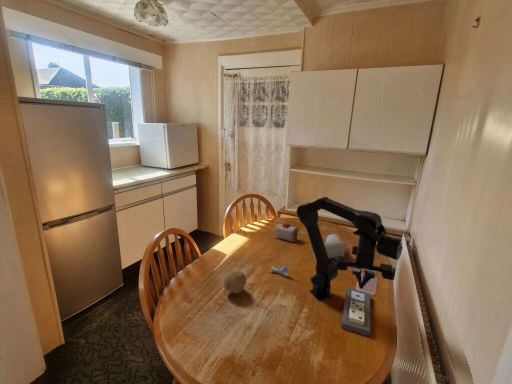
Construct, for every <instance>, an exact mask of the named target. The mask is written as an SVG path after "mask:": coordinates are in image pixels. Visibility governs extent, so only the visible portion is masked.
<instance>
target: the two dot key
mask: <svg viewBox="0 0 512 384" xmlns="http://www.w3.org/2000/svg"><path fill="white" fill-rule="evenodd" d="M349 308H350V307H349ZM364 313H365V312H362V311H358V310H354V309H351V308H350V310H349V316H348V319H347V321H349V322H352V323H355V324H359V325H362V326H364Z"/></svg>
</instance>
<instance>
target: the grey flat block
mask: <svg viewBox="0 0 512 384" xmlns="http://www.w3.org/2000/svg"><path fill="white" fill-rule="evenodd" d="M352 291H355V292H359V293H363V294H365V301H364V303H363V302H360V301H356V300H352V299H351V292H352ZM351 300H352V301H355V302H359V303H363V304H364V312H365V313H364V326H362V325H359V324H355V323H352V322H349V321H348V318H349V308H350V301H351ZM370 315H371V294H370V293H367V292H363V291H359V290H357V289H355V288H351V287H346V291H345V298H344V305H343V310H342V319H341V325H340V328H341V329H345V330H347V331H351V332H354V333H357V334H361V335H364V336H365V337H370V332H371V316H370Z"/></svg>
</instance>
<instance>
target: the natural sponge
mask: <svg viewBox="0 0 512 384" xmlns="http://www.w3.org/2000/svg"><path fill="white" fill-rule="evenodd" d="M246 284H247V276H246V275H245V273H244V272H242V270H237V269H236V270H235V269H232V270H230V271H229V272H228V273H227V274H226V276H225V278H224V280H223V286H224V289H225V290H227V291H228V292H229V291H230V292H231V293H233V294H236V295H237V294H240V293H241V292H243V290H244V289H245V286H246Z"/></svg>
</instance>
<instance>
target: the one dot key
mask: <svg viewBox="0 0 512 384" xmlns="http://www.w3.org/2000/svg"><path fill="white" fill-rule="evenodd" d="M350 299H352V300H356V301H360V302H363V303H365V294H363V293H359V292H355V291H352V292H351V295H350Z"/></svg>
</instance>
